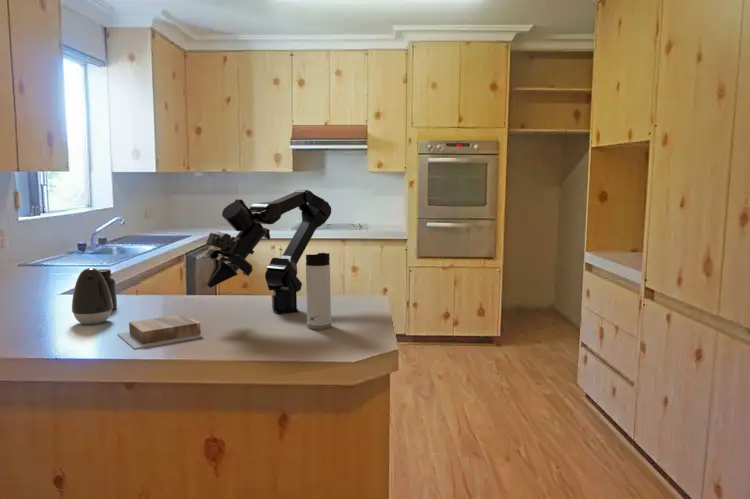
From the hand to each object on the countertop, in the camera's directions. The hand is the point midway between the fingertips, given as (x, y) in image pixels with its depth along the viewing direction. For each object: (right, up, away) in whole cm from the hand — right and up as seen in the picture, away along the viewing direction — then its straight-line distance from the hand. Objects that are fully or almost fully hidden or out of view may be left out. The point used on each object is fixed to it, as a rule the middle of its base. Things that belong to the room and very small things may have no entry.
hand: (208, 286), depth 154 cm
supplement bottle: (-38, -9, +25) cm, 46 cm away
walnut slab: (-4, -10, -2) cm, 10 cm away
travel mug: (+29, -11, +1) cm, 31 cm away
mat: (-10, -12, -7) cm, 17 cm away
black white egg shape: (-34, -11, +8) cm, 37 cm away
